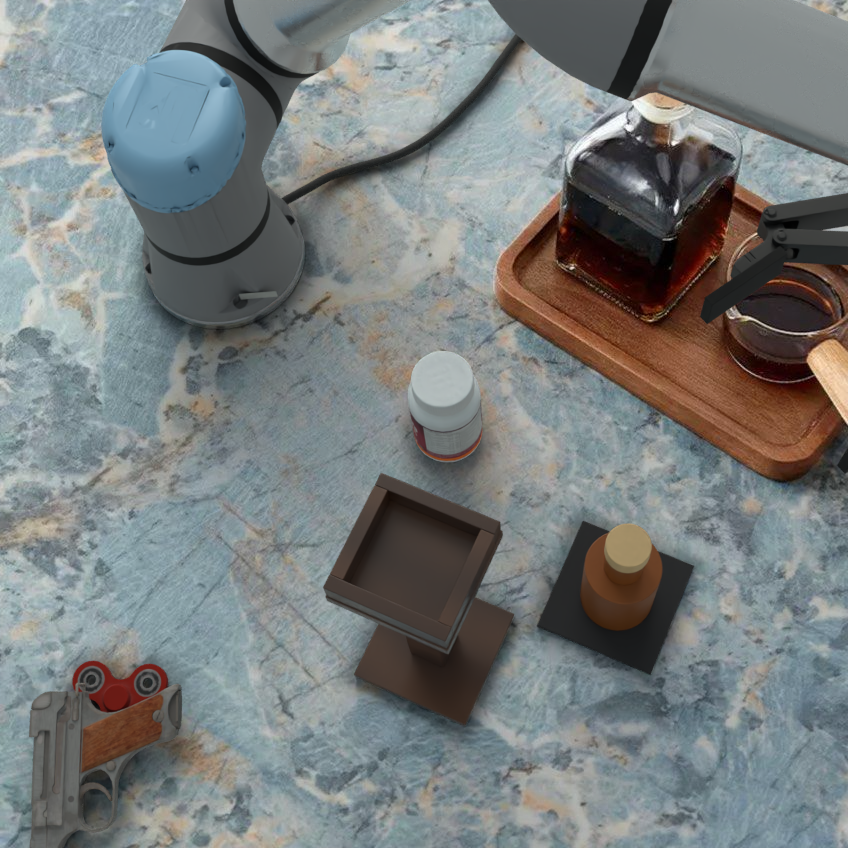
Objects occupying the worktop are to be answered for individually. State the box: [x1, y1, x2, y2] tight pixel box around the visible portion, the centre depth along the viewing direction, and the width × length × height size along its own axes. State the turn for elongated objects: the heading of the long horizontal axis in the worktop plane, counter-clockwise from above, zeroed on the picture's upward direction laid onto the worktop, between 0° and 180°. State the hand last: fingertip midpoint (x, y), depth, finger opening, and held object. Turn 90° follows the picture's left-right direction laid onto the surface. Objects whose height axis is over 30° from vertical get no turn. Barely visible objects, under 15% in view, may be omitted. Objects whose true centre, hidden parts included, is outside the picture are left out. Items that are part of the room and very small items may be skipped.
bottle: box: [580, 523, 662, 631], centre depth 102 cm, size 6×6×13 cm
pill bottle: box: [406, 350, 483, 463], centre depth 111 cm, size 6×6×11 cm
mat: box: [536, 520, 695, 676], centre depth 109 cm, size 10×10×1 cm
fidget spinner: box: [71, 660, 169, 713], centre depth 108 cm, size 8×7×1 cm
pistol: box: [28, 683, 183, 848], centre depth 104 cm, size 19×2×12 cm
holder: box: [322, 472, 515, 728], centre depth 97 cm, size 10×10×25 cm
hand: (773, 384), depth 85 cm, fingers open, 13 cm apart
